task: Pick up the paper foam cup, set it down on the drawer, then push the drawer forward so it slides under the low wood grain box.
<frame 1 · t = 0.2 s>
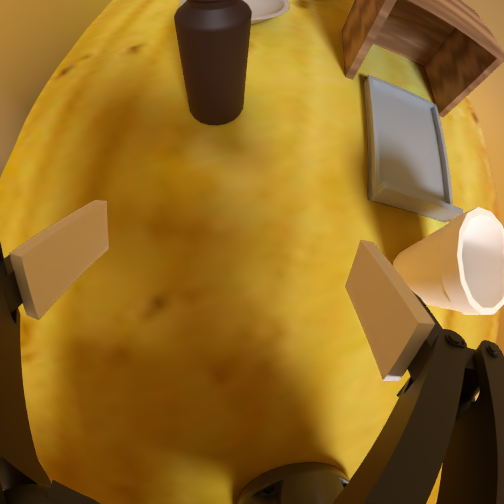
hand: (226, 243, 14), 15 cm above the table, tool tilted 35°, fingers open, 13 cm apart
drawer: (413, 139, 31), point 2 cm above the table, slide at 0.0 cm
dish: (233, 21, 35), on the table
bottle: (216, 106, 32), on the table
wood grain box: (393, 69, 36), on the table
foam cup: (410, 274, 30), on the table
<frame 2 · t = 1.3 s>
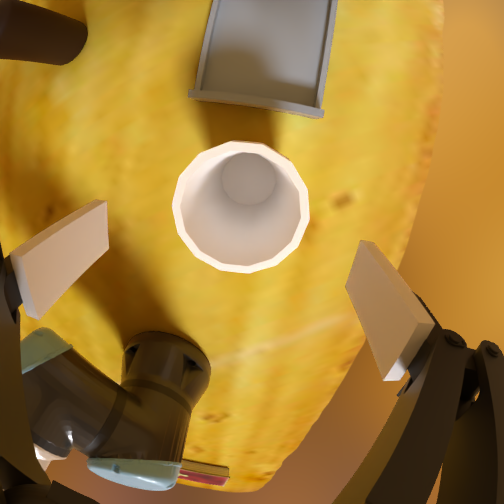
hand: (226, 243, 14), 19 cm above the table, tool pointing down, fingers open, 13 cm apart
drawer: (271, 21, 21), point 2 cm above the table, slide at 0.0 cm
hardcover book: (194, 466, 67), on the table
bottle: (69, 43, 23), on the table
foam cup: (248, 177, 31), on the table
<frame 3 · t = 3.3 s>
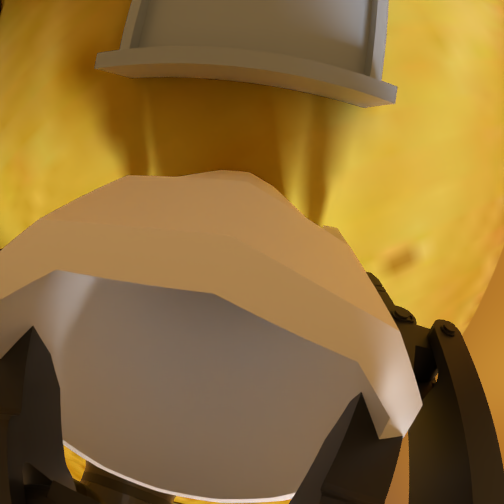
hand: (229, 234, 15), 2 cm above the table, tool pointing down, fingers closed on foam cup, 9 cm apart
foam cup: (232, 223, 16), on the table, touching gripper
when the fingers open (4 cm above the table, at t = 8.5 s): foam cup drops 1 cm, resting on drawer.
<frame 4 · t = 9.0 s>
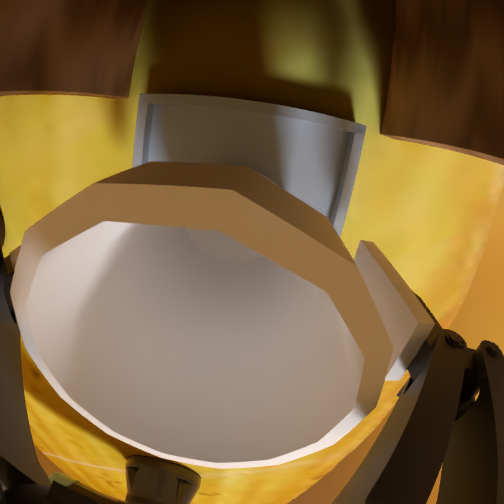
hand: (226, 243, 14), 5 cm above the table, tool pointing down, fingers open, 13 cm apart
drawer: (227, 265, 18), point 2 cm above the table, slide at 0.1 cm, touching foam cup
wood grain box: (270, 9, 12), on the table
foam cup: (234, 215, 18), point 1 cm above the table, touching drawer
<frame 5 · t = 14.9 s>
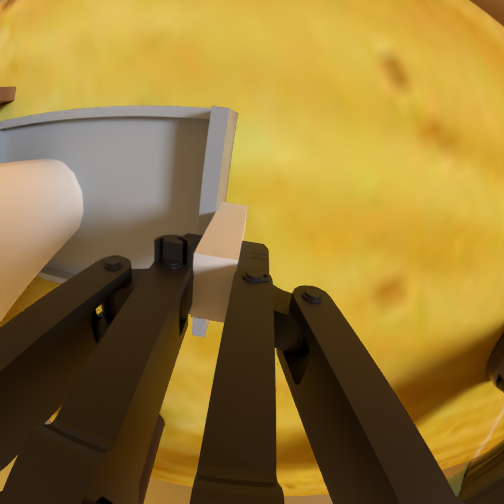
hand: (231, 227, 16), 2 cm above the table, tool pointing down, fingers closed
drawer: (73, 207, 16), point 2 cm above the table, slide at 0.6 cm, touching foam cup, gripper
bottle: (140, 412, 29), on the table
foam cup: (54, 200, 17), point 1 cm above the table, touching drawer
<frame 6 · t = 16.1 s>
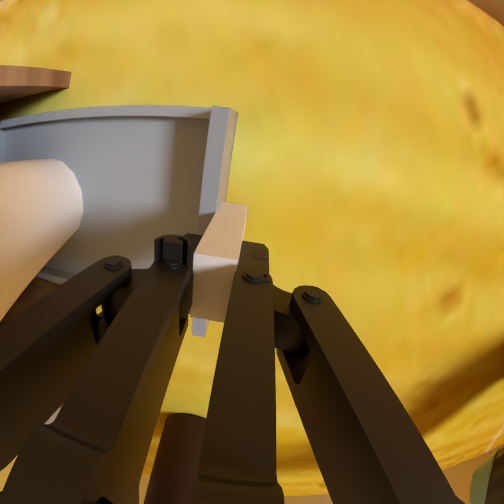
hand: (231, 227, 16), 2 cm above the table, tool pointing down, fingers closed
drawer: (73, 207, 16), point 2 cm above the table, slide at 7.5 cm, touching foam cup, gripper
bottle: (193, 425, 29), on the table
wood grain box: (12, 192, 17), on the table
foam cup: (53, 199, 17), point 1 cm above the table, touching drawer
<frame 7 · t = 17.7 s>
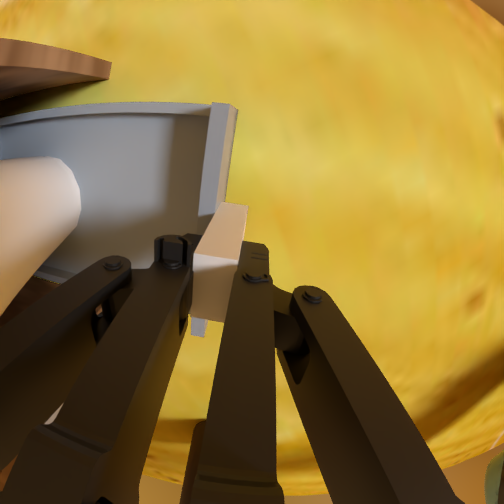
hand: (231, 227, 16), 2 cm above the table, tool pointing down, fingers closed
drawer: (71, 205, 15), point 2 cm above the table, slide at 11.2 cm, touching foam cup, gripper
bottle: (222, 430, 29), on the table
wood grain box: (34, 192, 17), on the table
foam cup: (51, 197, 16), point 1 cm above the table, touching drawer
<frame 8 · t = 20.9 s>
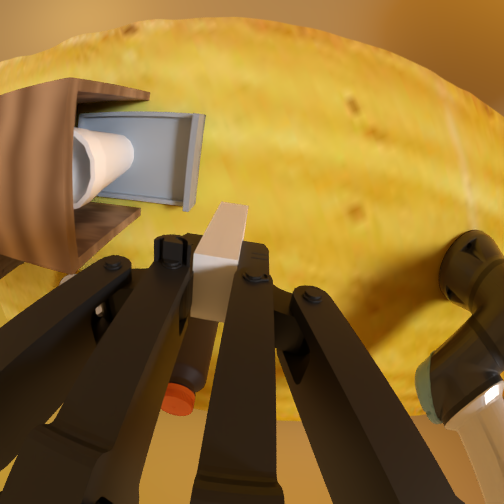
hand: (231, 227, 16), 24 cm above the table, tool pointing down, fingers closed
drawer: (130, 156, 35), point 2 cm above the table, slide at 11.2 cm, touching foam cup
bottle: (200, 314, 49), on the table
wood grain box: (104, 153, 37), on the table
beer stein: (16, 226, 43), on the table
foam cup: (116, 154, 36), point 1 cm above the table, touching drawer
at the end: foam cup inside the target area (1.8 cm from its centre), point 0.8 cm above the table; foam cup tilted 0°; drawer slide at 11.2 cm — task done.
